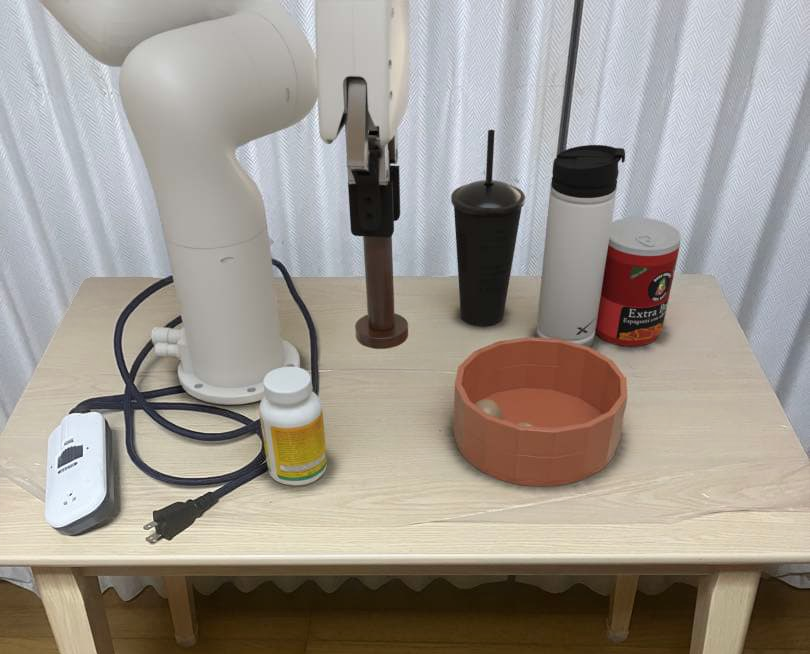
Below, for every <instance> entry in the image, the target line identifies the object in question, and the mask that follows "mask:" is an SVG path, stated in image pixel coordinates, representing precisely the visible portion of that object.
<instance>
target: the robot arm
mask: <svg viewBox="0 0 810 654" xmlns="http://www.w3.org/2000/svg"><path fill="white" fill-rule="evenodd" d="M38 1H39V3H40V4H42V6H43V7H44V8H45V9H46V10H47V11H48V12H49V14H50V15H51V16H52V17H53V18H54V19H55V20H56V21H57V22H58V23H59V25H60V26H61V27H62V28H63V29H64V30H65V31H66V33H68V35H69V36H70V37H71V38H72V39H73V40H74V41H75V42H76V43H77V45H79V46H80V47H81V48H82V49H83V50H84V51H85V52H86V53H87V54H88V55H90V57H92V59H94V60H96V61H97V62H99V63H101V64H103V65H105V66H108V67H113V68H120V71H119V77H118V90H119V96H120V100H121V104H122V109H123V111H124V114H125V117H126V120H127V122H128V125H129V127H130V130H131V131H132V134H133V137H134V139H135V142H136V144H137V146H138V150H139V152H140V154H141V157H142V160H143V162H144V166H145V169H146V171H147V174H148V177H149V180H150V181H149V182H150V184H151V189H152V192H153V195H154V199H155V204H156V207H157V212H158V216H159V217H158V218H159V221H160V226H161V230H162V235H163V238H164V243H165V248H166V252H167V257H168V262H169V265H170V266H169V268H170V271H171V275H172V279H173V280H172V281H173V285H174V289H175V290H174V291H175V295H176V299H177V304H178V308H179V312H180V317H181V322H182V327H181V328H180V329H179V328H172V327H162V326H160V327H159V326H154V327H153V328H152V330H151V336H150V337H151V342H152V344H153V346H154V355H155V356H156V357H162V358H170V357H172V358H173V357H174V358H177V360H179V363H178V366H177V376H178V380H179V384H180V385H181V388H182V390H184V391H185V392H186V393H187V394H188V395H190V396H192V397H193V398H195V399H198V400H200V401H203V402H206V403H211V404H215V405H226V406H227V405H228V406H231V405H233V406H234V405H244V404H245V405H246V404H252V403H257V402H261V401H262V399H263V398H264V397H265V394H264V385H263V380H264V377H265V376H266V375H267V374H268V373H269V372H271V371H272V370H275V369H278V368H281V367H299V368H302V367H301V358H300V357H301V356H300V353H299V351H298V350H297V348H296V347H295V346H294V345H293V344H291V342H289V341H288V340H285V339H283V336H282V329H281V321H280V314H279V313H280V312H279V305H278V297H277V291H276V290H277V289H276V283H275V282H276V281H275V274H274V266H273V260H272V252H271V244H270V237H269V229H268V222H267V215H266V208H265V207H266V206H265V202H264V199H263V195H262V193H261V190H260V188H259V186H258V185H257V183H256V182H255V180H254V179H253V177H252V176H251V175H250V174H249V172H247V171H246V170H245V168H244V167H243V166H242V165H241V164H240V162H239V161H238V158H237V156H236V152H237V149H238V148H240V147H243V146H244V145H247V144H249V143H250V142H252V141H255V140H258V139H260V138H263V137H266V136H268V135H272V134H275V133H278V132H280V131H283V130H286V129H288V128H290V127H293V126H294V125H297V124H298V123H300V122H301V121H302V120H304V119H305V118H307V116H308V115H309V114H310V113H311V111H313V109H314V107H315V106H316V103H317V109H318V113H317V114H318V129H319V137H320V139H321V140H322V141H323V142H324V143H325V144H327V145H331V144H332V143H333V142H334V141H336V140H337V138H338V136H339V135H340V132H341V131H342V130H343V128H344V132H345V133H344V134H345V135H344V136H345V151H346V152H345V153H346V168H347V192H348V207H349V220H350V221H349V224H350V225H349V226H350V233H351V234H352V235H353V236H354V237H363V236H366V237H386V238H389V237H391V236H392V237H393V235H394V232H395V222H396V221H399V219H400V216H401V185H400V184H401V179H400V178H401V177H400V165H397V164H398V160H399V143H398V142H399V141H398V140H399V138H398V137H399V136H398V128H399V127H400V125H401V122H402V120H403V118H404V116H405V113H406V111H407V109H408V104H409V98H410V88H411V87H410V86H411V85H410V83H411V24H410V23H411V22H410V21H411V17H410V0H315V4H314V5H315V8H314V9H315V13H314V15H315V17H314V20H315V23H314V25H315V29H314V30H315V53H314V50H313V48H312V46H311V43H310V41H309V39H308V38H307V36H306V34H305V33H304V31H303V30H302V28H301V27H300V26H299V24H298V23H297V22H296V20H295V19H294V18H293V17H292V15H291V14H290V13H289V12H288V10H287V9H286V8H285V7H284V6H283V5H282V4H281V3H280V2H279V1H278V0H38ZM369 149H374V150H378V158H377V157H376V154H375V153H370V152H369ZM388 149H389V172H390V181H388Z"/></svg>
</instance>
